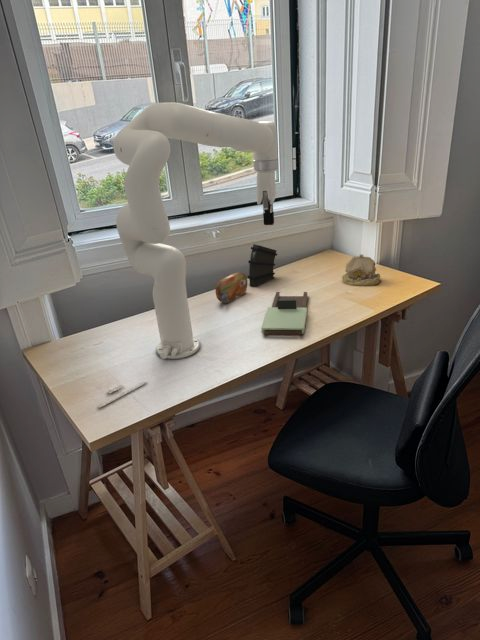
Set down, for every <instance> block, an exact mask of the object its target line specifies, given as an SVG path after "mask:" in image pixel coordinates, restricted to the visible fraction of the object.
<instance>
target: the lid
mask: <svg viewBox="0 0 480 640" xmlns="http://www.w3.org/2000/svg"><path fill="white" fill-rule="evenodd" d="M277 302H278V307H272V306H271V307H270V306H269V307H267V309H266V312H265V316H264V319H263V321H262V325H261V327H260V328H261V334H265V330H302V333H301V335H303V334H305V328H306V322H307V317H308V307H306V308H298V307H297V305H296V299H278V300H277Z"/></svg>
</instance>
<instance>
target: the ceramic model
mask: <svg viewBox="0 0 480 640" xmlns="http://www.w3.org/2000/svg"><path fill="white" fill-rule="evenodd" d="M376 272H377V267H376V261H375V260H374V259H373V258H371V257H370V256H364V254H359V256H358V255H357V256H355V255H354V256H352V257H351V258H350V259H349V260H348V261H347V262H346V263H345V274H343V283H344V284H347V285H349V286H375V285H378V284H379V283H380V281H381V274H380V273H376Z"/></svg>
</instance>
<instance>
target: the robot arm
mask: <svg viewBox="0 0 480 640" xmlns="http://www.w3.org/2000/svg"><path fill="white" fill-rule="evenodd" d="M169 139H172V140H179V141H184V142H188V143H193V144H198V145H203V146H207V147H215V148H231V149H232V150H234V151H237V152H247V153H252V159H253V171H254V172H255V173H256V203H257V206H260V205H261V204H262V214H263V215H262V216H263V217H262V219H263V225H264V226H274V224H275V214H274V213H275V211H274V202H275V200H276V198H277V197H276V192H277V191H276V172H277V171H278V170H279V157H278V155H279V154H278V132H277V124H276V123H275V122H274V121H271V120H261V121H256V120H252V119H248V118H243V117H237V116H233V115H229V114H226V113H220V112H215V111H211V110H207V109H203V108H198V107H196V106H192V105H190V104H185V103H182V102H175V101H174V102H154V103H151V104H149V105H148V106H146V107H145V108H144V109H143V110H142V111H141V112H139V113H138V114H137V115H135V117H133V119H131V120H130V121H129V122H128V123H127V124H126V125H124V126H123V127H122V128H121V129H120V130H119V131H118V132H117V134H116V135H115V137H114V140H113V144H112V145H113V146H112V147H113V152H114V155H115V156H116V159H118V161H120V163H122V164H124V165H127V166H128V168H127V171H126V173H125V176H124V183H123V186H124V194H125V198H126V201H127V203H126V204H124V205H122V206H121V207H120V209H119V210H118V212H117V213H116V214H117V215H116V219H115V221H116V222H115V224H116V229H117V233H118V236H119V240H120V242H121V245H122V247H123V249H124V252H125V255H126V258H127V261H128V263H129V265H130V266H131V268H132V269H133V270H134V271H136V272H137V273H139V274H141V275H144V276H148V277H150V278H153V280H154V283H153V287H152V301H153V307H154V311H155V317H156V322H157V323H156V324H157V328H158V329H157V330H158V333H159V339H160V342H159V343H158V345H157V346H156V352H157V355H158V356H159V357H160V358H161V359H162V360H163V359H170V360H177V359H184V358H186V357H190V356H192V355H193V354H195V353H196V352H197V351H199V349H200V341H199V340H198V339H197V338H195V337H194V334H193V328H192V321H191V313H190V306H189V300H188V292H187V284H186V282H187V281H186V278H187V277H186V276H187V275H186V274H187V261H186V257H185V255H184V254H183V252H182V251H181V250H179V249H178V248H176V247H174V246H172V245H170V244H165V242H166V241H167V240H168V239H169V237H170V235H171V224H170V221H169V218H168V214H167V211H166V207H165V204H164V201H163V200H164V199H163V197H162V193H161V189H160V178H161V175H162V172H163V170H164V168H165V166H166V164H167V162H168V160H169V158H170V155H171V143H170V141H169Z"/></svg>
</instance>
